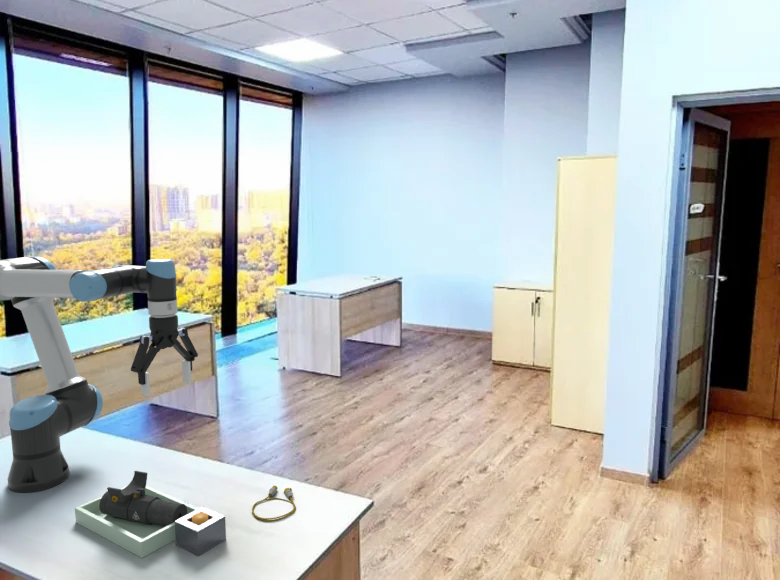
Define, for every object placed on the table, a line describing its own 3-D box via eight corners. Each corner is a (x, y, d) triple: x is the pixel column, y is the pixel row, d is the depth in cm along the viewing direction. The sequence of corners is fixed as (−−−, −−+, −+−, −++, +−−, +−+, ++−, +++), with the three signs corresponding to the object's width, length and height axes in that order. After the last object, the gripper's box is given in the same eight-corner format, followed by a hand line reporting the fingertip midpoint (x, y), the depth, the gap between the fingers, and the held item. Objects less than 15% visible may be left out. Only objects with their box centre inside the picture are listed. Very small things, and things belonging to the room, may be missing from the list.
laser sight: (167, 538, 139) (165, 498, 138) (90, 522, 146) (87, 484, 145) (192, 517, 149) (191, 480, 147) (119, 503, 155) (117, 467, 154)
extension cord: (312, 498, 161) (312, 492, 161) (277, 527, 147) (277, 519, 147) (275, 489, 166) (275, 482, 166) (238, 515, 152) (238, 508, 152)
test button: (189, 537, 139) (188, 517, 138) (202, 530, 142) (201, 511, 141) (199, 542, 137) (198, 522, 136) (212, 535, 140) (211, 515, 139)
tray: (75, 522, 148) (74, 507, 147) (137, 494, 162) (136, 481, 161) (142, 558, 133) (141, 542, 133) (203, 524, 147) (202, 509, 147)
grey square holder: (175, 544, 138) (174, 521, 137) (203, 529, 145) (202, 506, 144) (198, 556, 134) (197, 531, 133) (226, 539, 141) (225, 516, 140)
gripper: (130, 324, 152) (135, 403, 155) (208, 309, 173) (211, 379, 176) (113, 320, 156) (118, 398, 159) (191, 307, 177) (194, 375, 180)
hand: (167, 388), depth 168 cm, fingers open, 13 cm apart
